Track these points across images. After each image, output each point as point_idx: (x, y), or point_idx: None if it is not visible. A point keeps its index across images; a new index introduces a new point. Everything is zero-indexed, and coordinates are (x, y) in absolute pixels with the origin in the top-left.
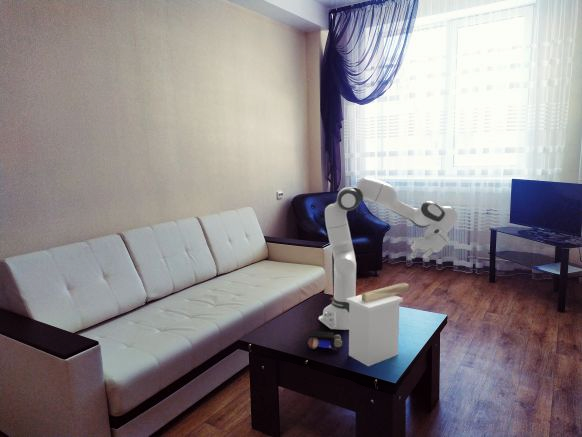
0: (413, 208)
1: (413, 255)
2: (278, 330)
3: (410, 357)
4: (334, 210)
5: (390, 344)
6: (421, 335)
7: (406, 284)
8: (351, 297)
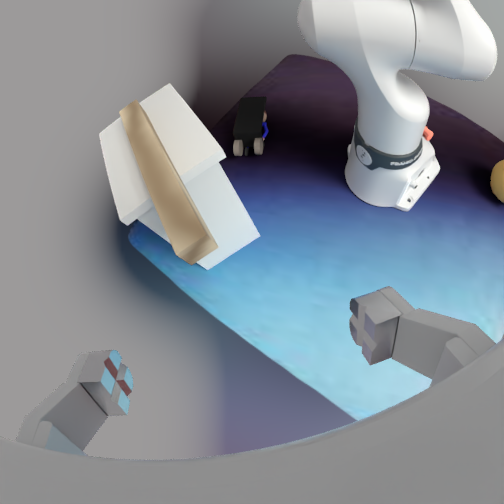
0: None
1: (362, 316)
2: (331, 78)
3: (192, 294)
4: None
5: None
6: (309, 364)
7: (175, 242)
8: (172, 90)
